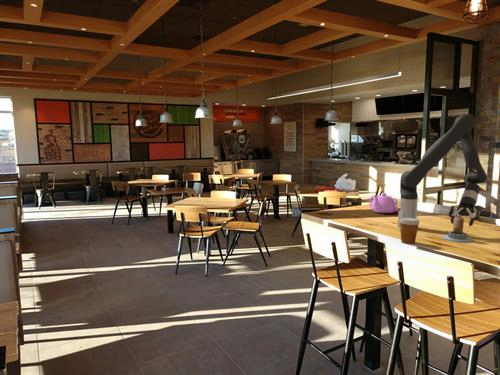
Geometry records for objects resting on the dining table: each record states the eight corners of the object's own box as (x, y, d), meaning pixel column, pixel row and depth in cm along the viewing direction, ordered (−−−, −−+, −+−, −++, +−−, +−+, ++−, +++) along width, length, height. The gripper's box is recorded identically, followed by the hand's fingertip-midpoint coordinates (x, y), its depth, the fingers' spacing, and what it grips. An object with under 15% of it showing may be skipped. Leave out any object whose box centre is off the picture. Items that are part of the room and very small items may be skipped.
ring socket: (451, 242, 194) (451, 236, 194) (437, 235, 208) (437, 230, 208) (478, 242, 194) (479, 236, 194) (462, 235, 208) (463, 230, 208)
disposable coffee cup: (418, 245, 187) (420, 221, 186) (397, 243, 191) (398, 219, 189) (418, 241, 196) (419, 217, 195) (398, 239, 199) (399, 216, 198)
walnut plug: (455, 238, 199) (457, 219, 198) (450, 236, 203) (452, 217, 202) (464, 238, 199) (465, 219, 198) (459, 236, 203) (460, 217, 202)
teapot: (359, 212, 279) (360, 193, 278) (375, 208, 294) (376, 190, 292) (388, 216, 263) (389, 196, 261) (403, 212, 277) (404, 193, 276)
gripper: (453, 194, 213) (445, 218, 206) (482, 197, 203) (475, 221, 196) (455, 203, 218) (447, 226, 211) (484, 206, 208) (477, 230, 201)
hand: (460, 224), depth 204 cm, fingers open, 8 cm apart
